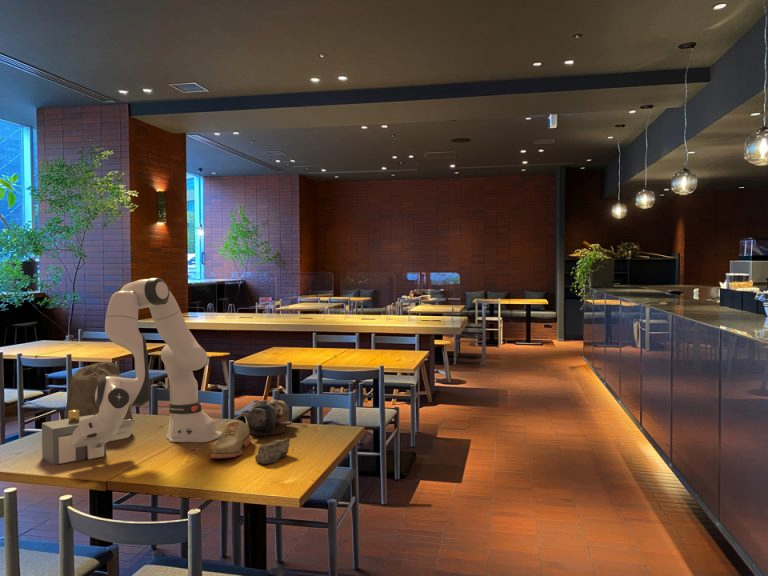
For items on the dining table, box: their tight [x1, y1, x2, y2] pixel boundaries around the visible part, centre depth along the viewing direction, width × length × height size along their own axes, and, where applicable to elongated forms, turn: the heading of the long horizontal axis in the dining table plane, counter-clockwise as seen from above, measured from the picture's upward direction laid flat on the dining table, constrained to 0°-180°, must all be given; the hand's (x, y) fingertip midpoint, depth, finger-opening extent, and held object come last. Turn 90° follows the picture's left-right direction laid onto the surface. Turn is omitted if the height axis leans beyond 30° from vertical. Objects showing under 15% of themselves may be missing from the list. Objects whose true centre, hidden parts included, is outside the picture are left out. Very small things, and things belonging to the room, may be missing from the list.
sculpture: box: [240, 398, 292, 438], centre depth 255 cm, size 25×21×14 cm
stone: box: [64, 361, 134, 428], centre depth 260 cm, size 25×34×30 cm
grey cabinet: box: [41, 415, 107, 466], centre depth 222 cm, size 13×18×13 cm
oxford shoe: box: [210, 415, 252, 459], centre depth 227 cm, size 11×32×12 cm, turn 2°
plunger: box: [86, 444, 105, 460], centre depth 224 cm, size 12×5×9 cm, turn 45°
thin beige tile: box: [58, 434, 77, 465], centre depth 218 cm, size 12×5×9 cm, turn 45°
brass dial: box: [68, 410, 79, 423], centre depth 222 cm, size 4×4×4 cm
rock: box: [254, 437, 291, 465], centre depth 218 cm, size 17×7×10 cm
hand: (97, 446), depth 219 cm, fingers closed, pressing on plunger
